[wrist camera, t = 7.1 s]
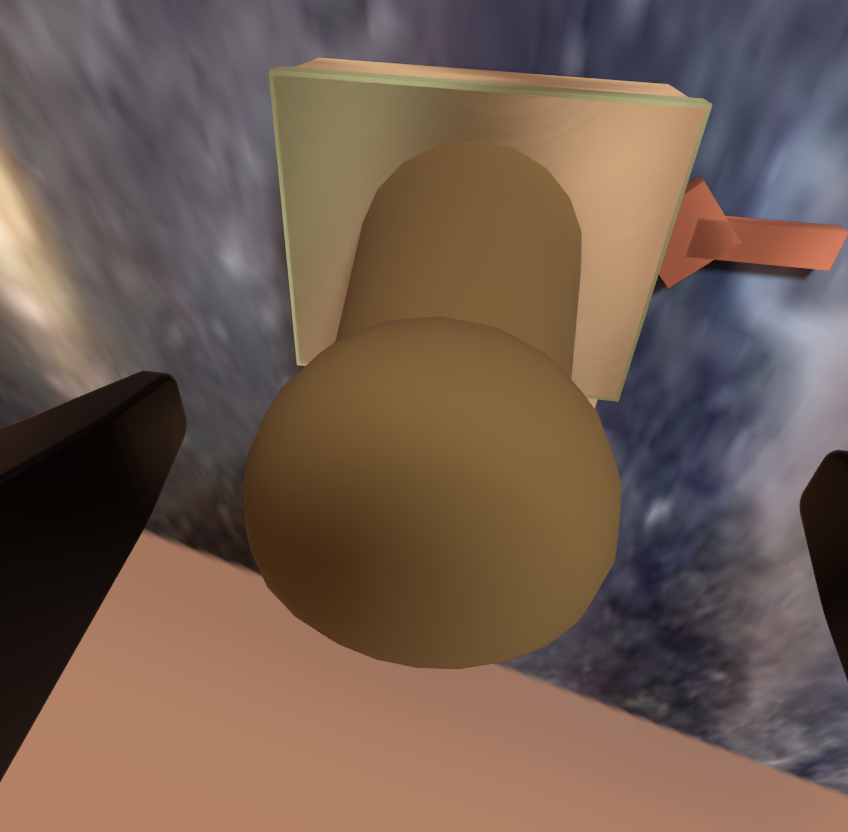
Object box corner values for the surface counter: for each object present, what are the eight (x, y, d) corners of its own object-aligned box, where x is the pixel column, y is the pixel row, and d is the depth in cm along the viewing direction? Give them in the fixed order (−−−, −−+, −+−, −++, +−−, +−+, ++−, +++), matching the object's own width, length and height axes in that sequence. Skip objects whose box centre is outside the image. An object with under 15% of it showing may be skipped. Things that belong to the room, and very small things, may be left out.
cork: (482, 391, 18) (455, 767, 9) (319, 275, 16) (99, 599, 8) (633, 244, 15) (810, 607, 6) (449, 81, 13) (327, 256, 4)
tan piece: (902, 97, 16) (1002, 126, 12) (699, 510, 25) (726, 585, 22) (315, 53, 17) (268, 69, 14) (337, 464, 26) (312, 530, 23)
